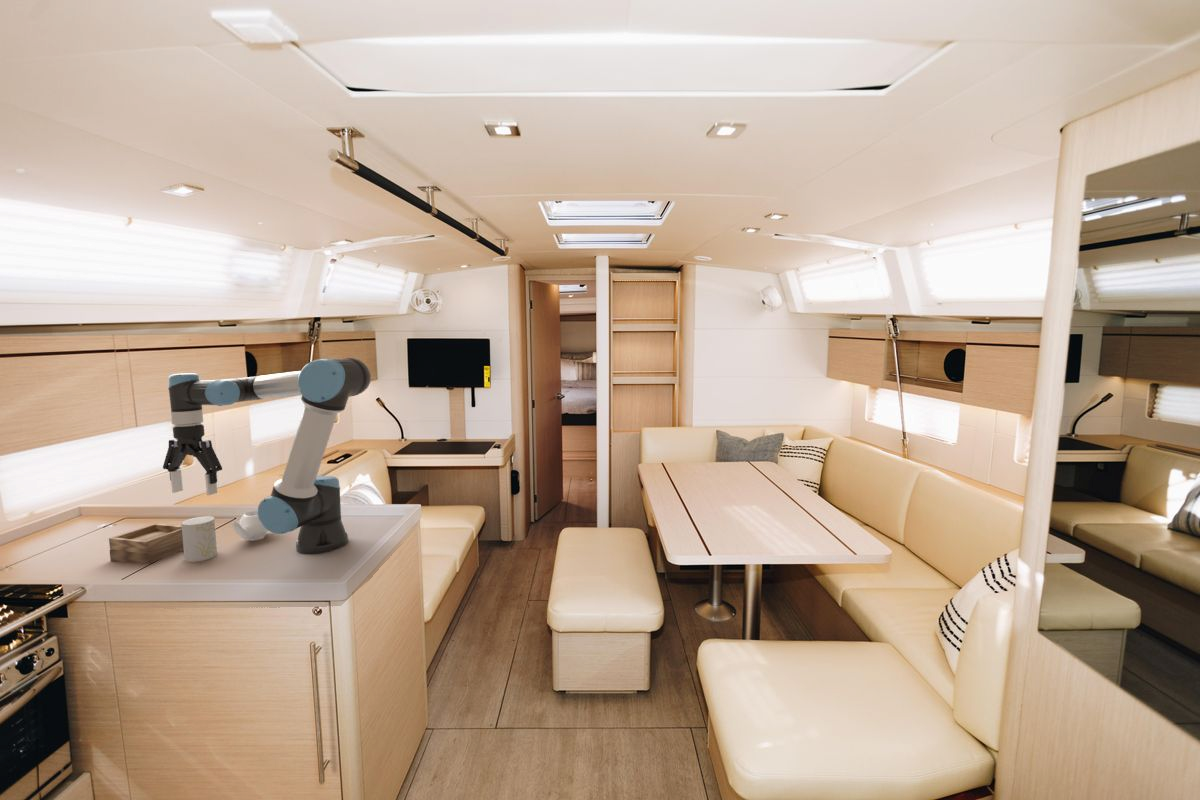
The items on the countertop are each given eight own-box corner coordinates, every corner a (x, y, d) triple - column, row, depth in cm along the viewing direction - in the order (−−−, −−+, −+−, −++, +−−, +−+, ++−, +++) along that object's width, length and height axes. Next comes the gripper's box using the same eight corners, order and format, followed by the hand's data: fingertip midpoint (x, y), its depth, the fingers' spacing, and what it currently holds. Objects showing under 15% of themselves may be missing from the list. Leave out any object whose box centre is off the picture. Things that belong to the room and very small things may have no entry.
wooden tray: (190, 537, 175) (189, 526, 174) (145, 553, 161) (144, 542, 161) (156, 533, 178) (155, 523, 177) (109, 549, 164) (108, 538, 164)
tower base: (191, 546, 176) (190, 536, 175) (149, 564, 162) (148, 552, 162) (155, 544, 178) (154, 534, 177) (110, 561, 164) (109, 550, 164)
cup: (199, 564, 162) (196, 525, 161) (177, 562, 164) (174, 523, 162) (223, 553, 170) (220, 517, 169) (202, 551, 171) (199, 515, 170)
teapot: (288, 529, 192) (286, 504, 191) (249, 551, 172) (247, 523, 171) (262, 529, 192) (260, 503, 191) (220, 550, 172) (218, 522, 171)
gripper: (232, 423, 163) (238, 491, 165) (169, 421, 169) (175, 487, 172) (208, 427, 156) (215, 498, 158) (143, 425, 162) (151, 493, 164)
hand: (194, 492), depth 165 cm, fingers open, 13 cm apart
